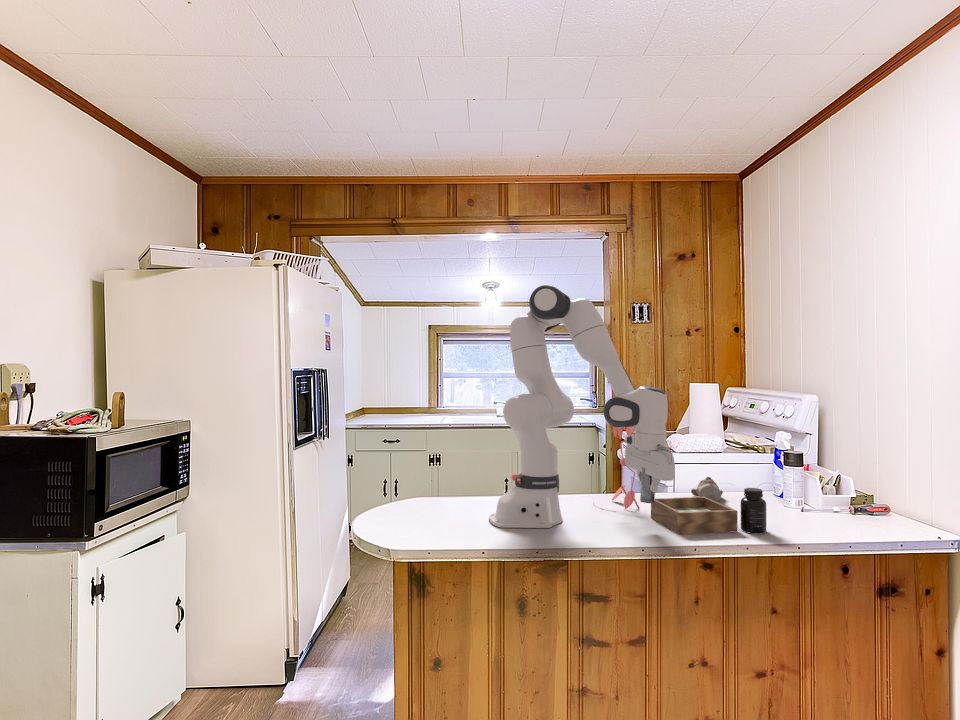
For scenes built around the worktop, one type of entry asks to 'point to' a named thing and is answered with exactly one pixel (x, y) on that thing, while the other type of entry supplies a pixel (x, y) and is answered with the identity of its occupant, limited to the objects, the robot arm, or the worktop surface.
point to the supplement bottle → (753, 511)
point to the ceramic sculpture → (708, 490)
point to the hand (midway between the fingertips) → (647, 488)
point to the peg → (646, 488)
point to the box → (694, 515)
